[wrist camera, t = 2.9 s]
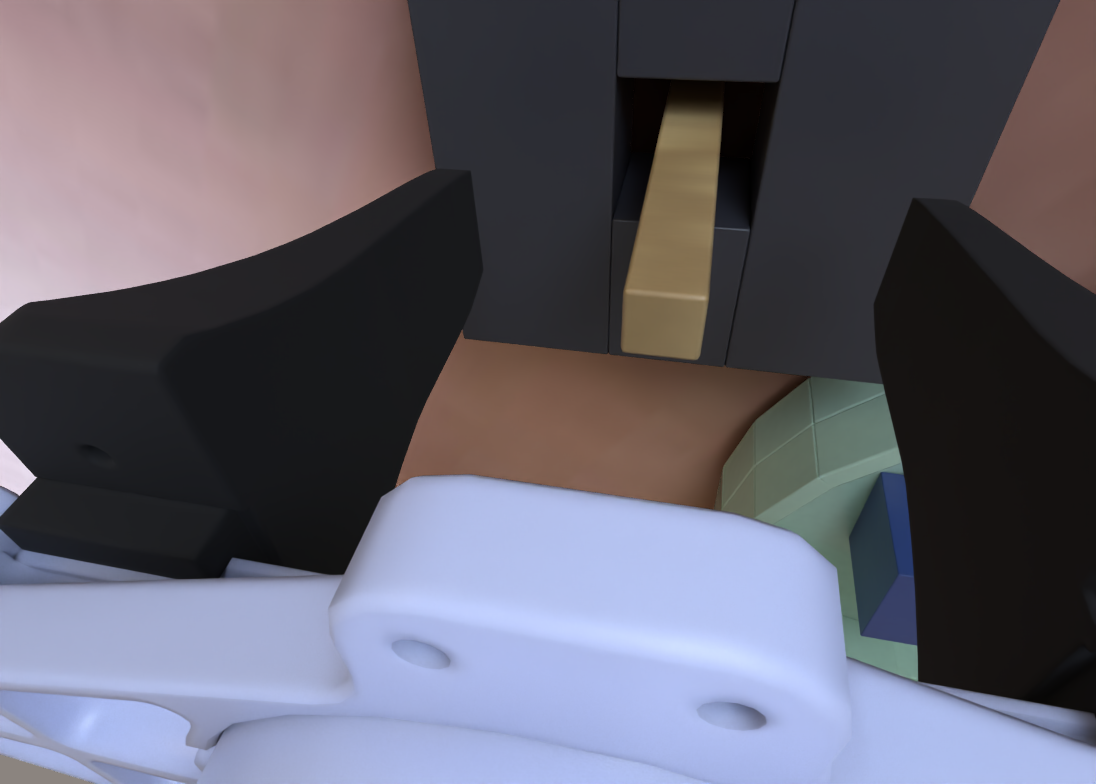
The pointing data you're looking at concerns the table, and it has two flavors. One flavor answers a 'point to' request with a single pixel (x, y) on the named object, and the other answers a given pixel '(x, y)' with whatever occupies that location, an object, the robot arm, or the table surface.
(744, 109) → the table surface
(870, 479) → the bowl
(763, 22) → the stand
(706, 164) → the stick
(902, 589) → the block
